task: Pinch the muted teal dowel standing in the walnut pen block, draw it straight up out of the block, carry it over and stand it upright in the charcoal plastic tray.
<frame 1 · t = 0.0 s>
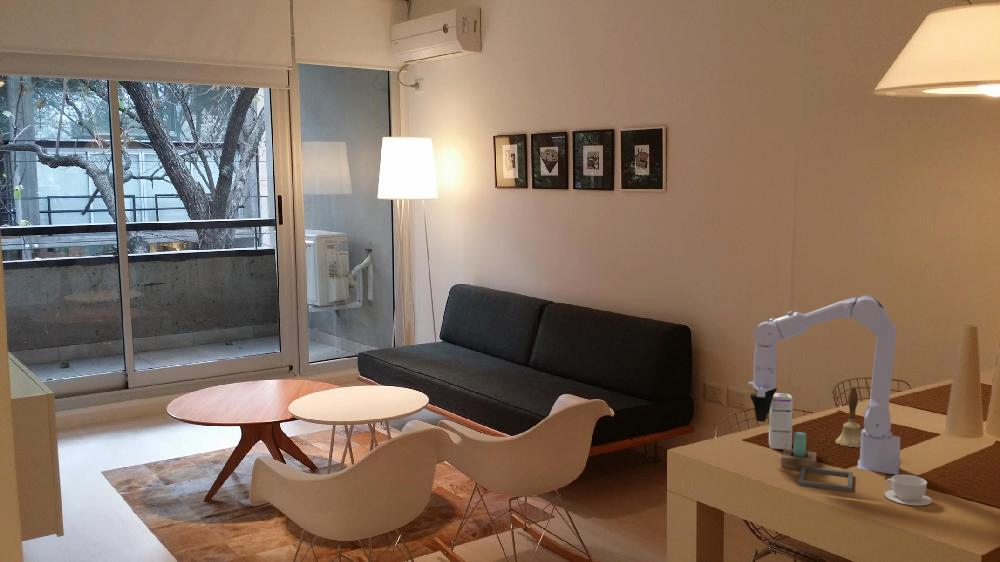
hand: (762, 417, 236), 10 cm above the table, tool pointing down, fingers open, 7 cm apart
hand bell: (851, 444, 247), on the table
tray: (825, 482, 216), on the table
pen block: (798, 465, 228), on the table
syrup box: (779, 447, 243), on the table, touching gripper
teacup: (907, 500, 206), on the table
dowel: (798, 464, 228), resting on pen block
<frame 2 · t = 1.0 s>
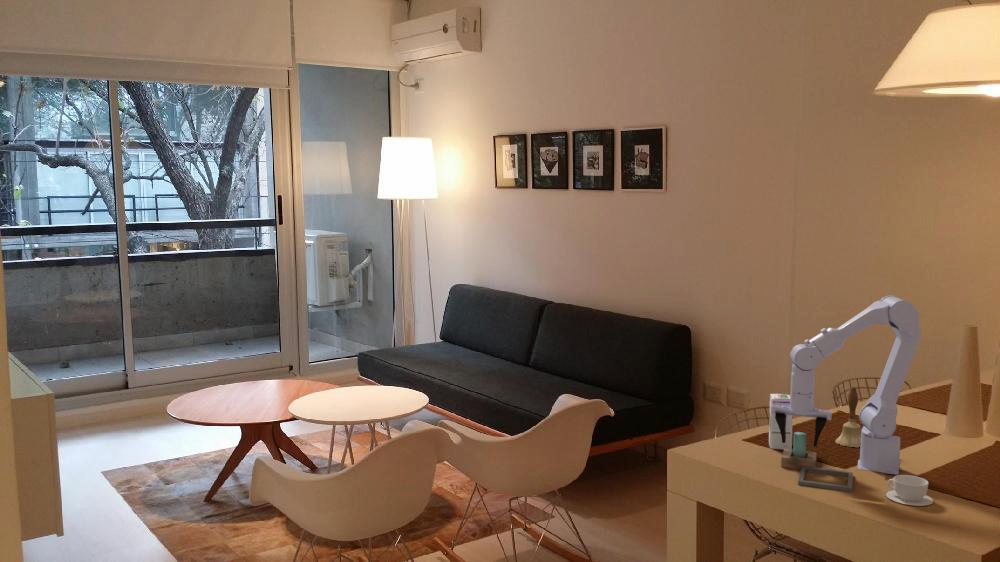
hand: (799, 443, 227), 6 cm above the table, tool pointing down, fingers open, 7 cm apart
syrup box: (779, 448, 243), on the table
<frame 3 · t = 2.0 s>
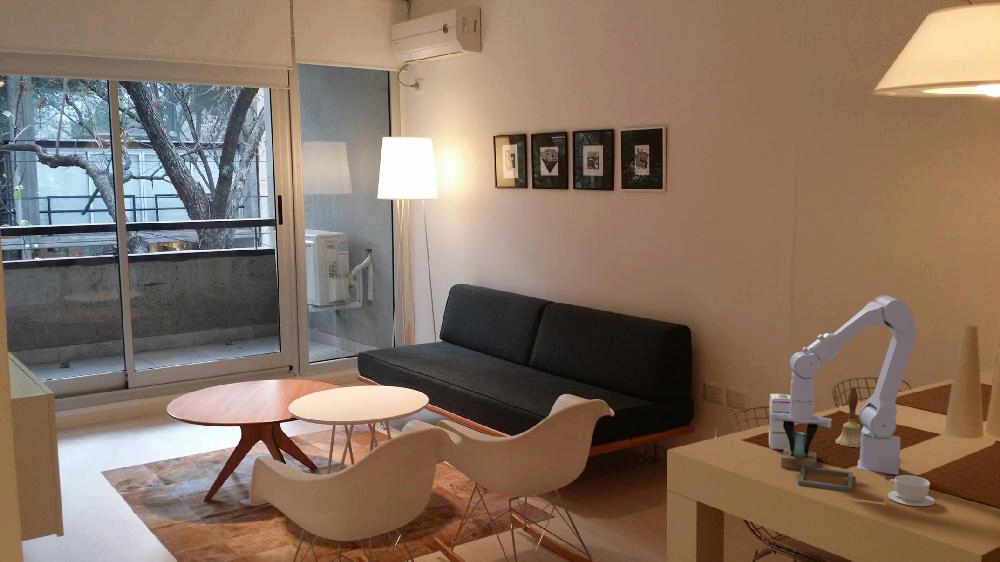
hand: (799, 451, 227), 4 cm above the table, tool pointing down, fingers closed on dowel, 3 cm apart
dowel: (798, 464, 228), resting on pen block, touching gripper
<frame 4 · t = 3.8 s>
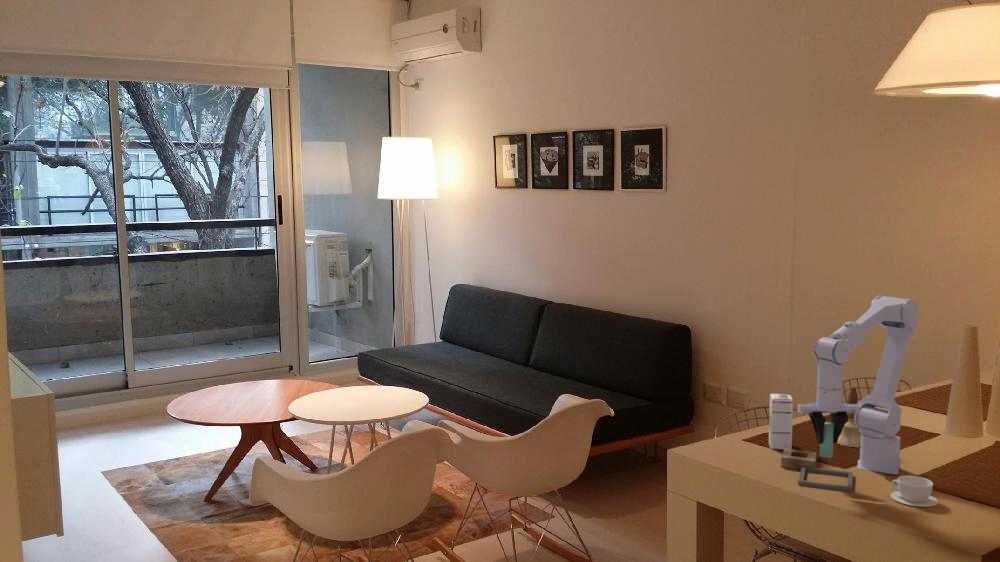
hand: (826, 442, 215), 10 cm above the table, tool pointing down, fingers closed on dowel, 3 cm apart
dowel: (826, 455, 216), point 7 cm above the table, touching gripper
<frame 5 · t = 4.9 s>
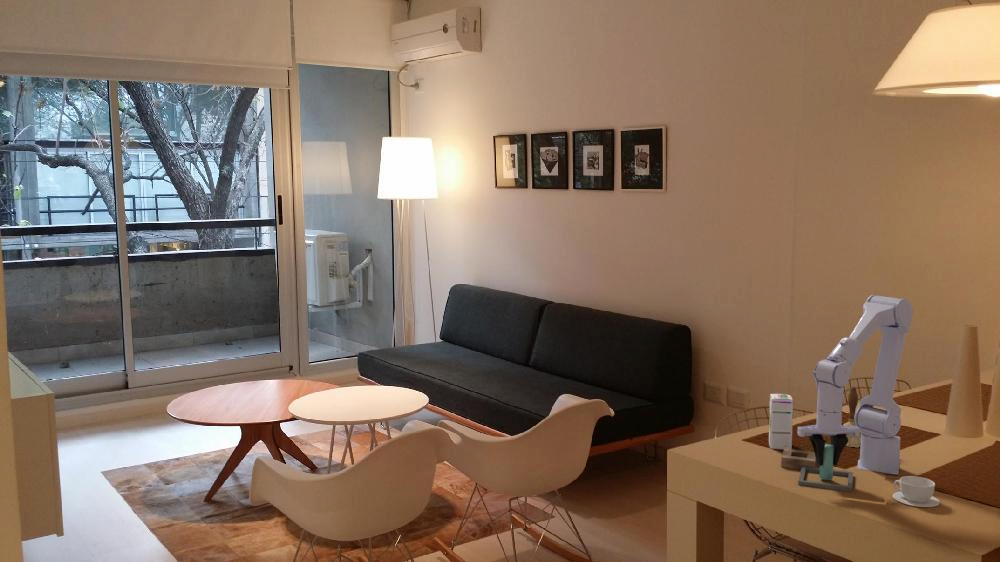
hand: (826, 464, 216), 4 cm above the table, tool pointing down, fingers closed on dowel, 3 cm apart
dowel: (825, 477, 216), point 1 cm above the table, touching gripper
when the fingers open (4 cm above the table, at t = 5.6 s): dowel stays where it is, resting on tray.
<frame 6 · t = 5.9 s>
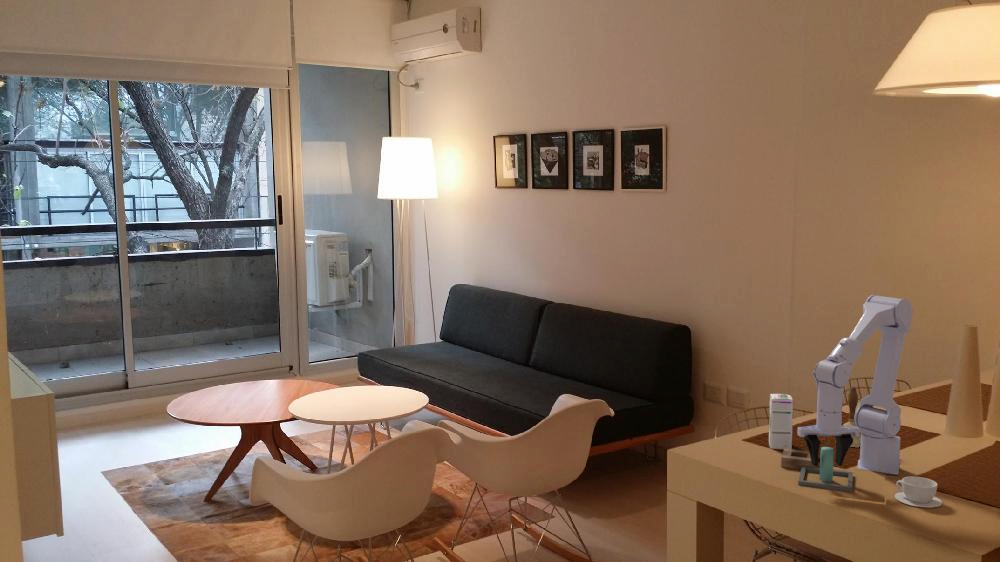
hand: (826, 464, 216), 4 cm above the table, tool pointing down, fingers open, 5 cm apart
dowel: (825, 480, 216), resting on tray
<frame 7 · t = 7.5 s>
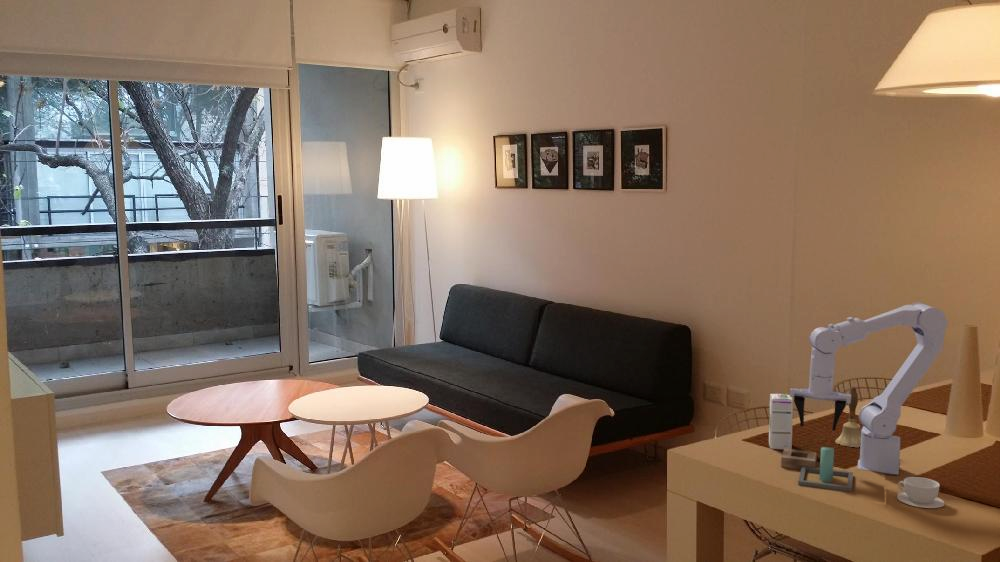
hand: (817, 427, 226), 10 cm above the table, tool pointing down, fingers open, 7 cm apart
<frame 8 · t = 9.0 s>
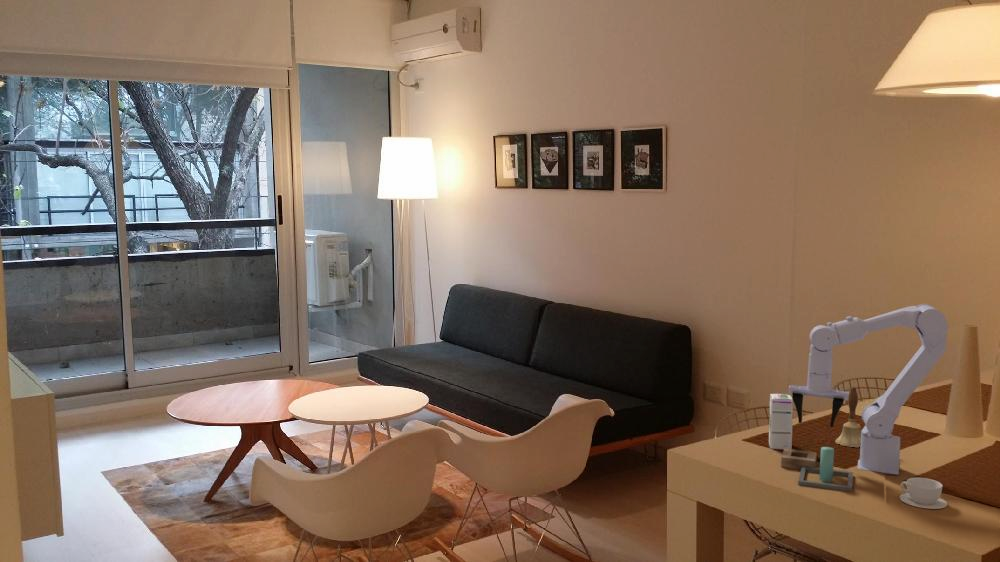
hand: (815, 424, 229), 10 cm above the table, tool pointing down, fingers open, 7 cm apart
at the end: dowel inside the target area on the tray (0.1 cm from its centre), point 0.4 cm above the tray's base; dowel tilted 0°; the gripper is holding nothing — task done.
